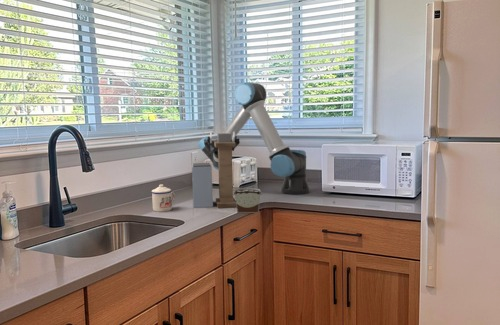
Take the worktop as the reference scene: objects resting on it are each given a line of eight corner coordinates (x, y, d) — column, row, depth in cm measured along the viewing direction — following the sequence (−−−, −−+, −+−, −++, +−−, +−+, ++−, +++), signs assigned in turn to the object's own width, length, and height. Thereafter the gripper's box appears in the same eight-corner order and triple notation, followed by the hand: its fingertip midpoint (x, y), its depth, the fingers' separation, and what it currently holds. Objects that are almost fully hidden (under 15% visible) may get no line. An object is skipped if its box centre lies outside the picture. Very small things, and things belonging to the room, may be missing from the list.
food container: (262, 209, 198) (262, 187, 197) (261, 212, 192) (261, 190, 191) (235, 209, 199) (235, 187, 198) (233, 212, 193) (233, 190, 192)
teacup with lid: (160, 212, 196) (159, 187, 194) (148, 210, 201) (147, 185, 200) (181, 208, 205) (180, 183, 203) (168, 205, 210) (167, 181, 209)
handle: (215, 140, 223) (215, 132, 223) (227, 139, 224) (227, 132, 223) (218, 142, 204) (218, 134, 204) (231, 142, 205) (231, 133, 205)
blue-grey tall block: (193, 202, 216) (191, 163, 214) (211, 202, 217) (210, 162, 215) (193, 207, 205) (192, 166, 203) (212, 206, 206) (211, 165, 204)
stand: (215, 202, 216) (214, 141, 213) (233, 201, 218) (232, 141, 214) (217, 208, 203) (215, 143, 199) (237, 207, 204) (235, 142, 200)
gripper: (242, 158, 236) (246, 140, 216) (199, 160, 233) (199, 141, 213) (241, 146, 239) (245, 127, 219) (198, 147, 236) (198, 128, 216)
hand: (222, 134), depth 216 cm, fingers open, 11 cm apart
